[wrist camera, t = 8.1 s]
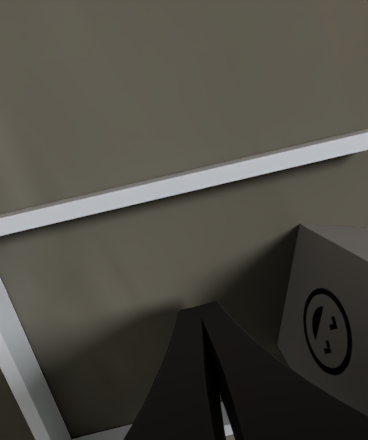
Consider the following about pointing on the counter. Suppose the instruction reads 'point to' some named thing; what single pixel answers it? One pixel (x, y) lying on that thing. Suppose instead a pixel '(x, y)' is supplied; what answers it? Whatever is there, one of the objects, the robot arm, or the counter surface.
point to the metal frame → (108, 200)
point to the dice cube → (329, 312)
